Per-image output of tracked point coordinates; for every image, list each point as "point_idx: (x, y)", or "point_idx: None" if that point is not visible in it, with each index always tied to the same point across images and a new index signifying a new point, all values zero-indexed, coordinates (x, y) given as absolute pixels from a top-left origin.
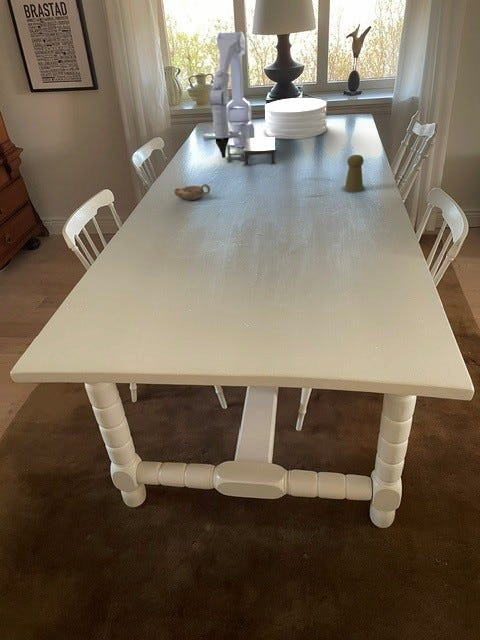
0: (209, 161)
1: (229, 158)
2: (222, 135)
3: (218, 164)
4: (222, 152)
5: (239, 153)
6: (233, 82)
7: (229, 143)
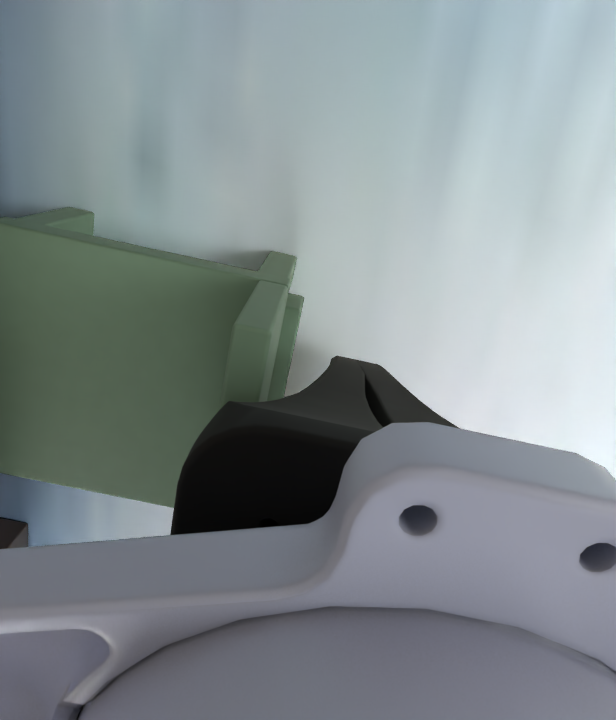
0: (561, 404)
1: (271, 262)
2: (396, 621)
3: (473, 200)
4: (378, 384)
5: (49, 231)
6: None
7: None
